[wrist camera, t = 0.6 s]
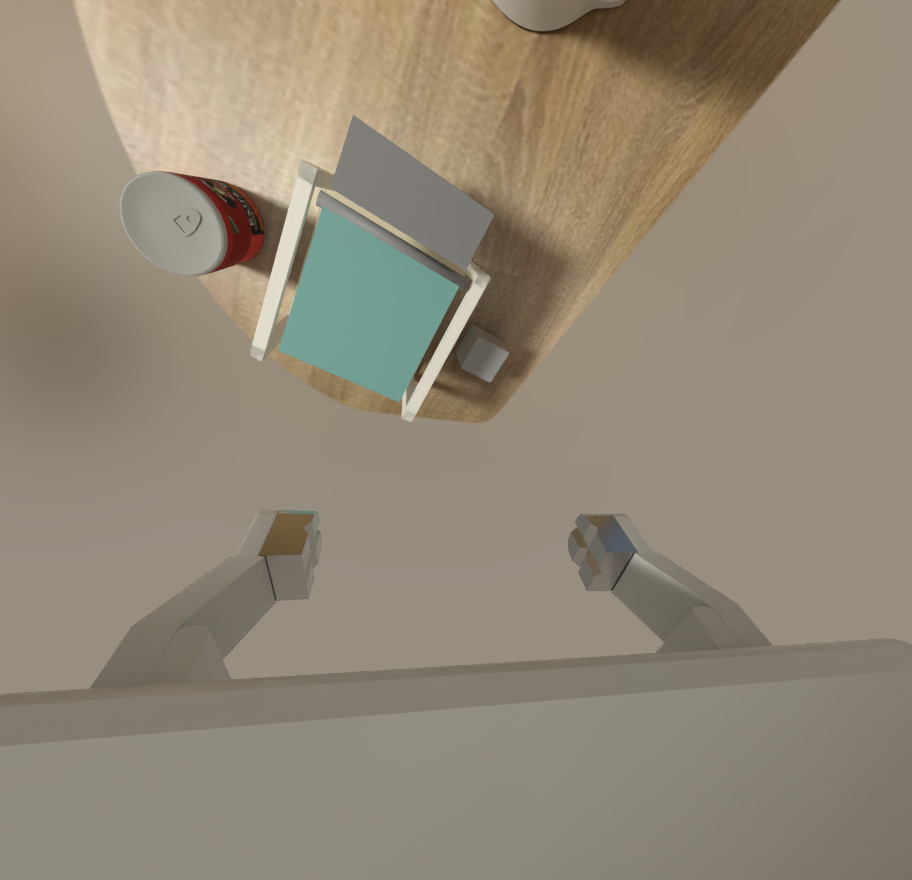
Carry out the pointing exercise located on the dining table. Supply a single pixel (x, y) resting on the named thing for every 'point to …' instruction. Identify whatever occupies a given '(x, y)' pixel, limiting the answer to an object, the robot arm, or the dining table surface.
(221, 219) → the canned food
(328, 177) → the frame
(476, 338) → the grey block
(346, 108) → the dining table surface
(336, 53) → the dining table surface
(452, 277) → the trapdoor
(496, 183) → the dining table surface
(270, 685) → the robot arm
